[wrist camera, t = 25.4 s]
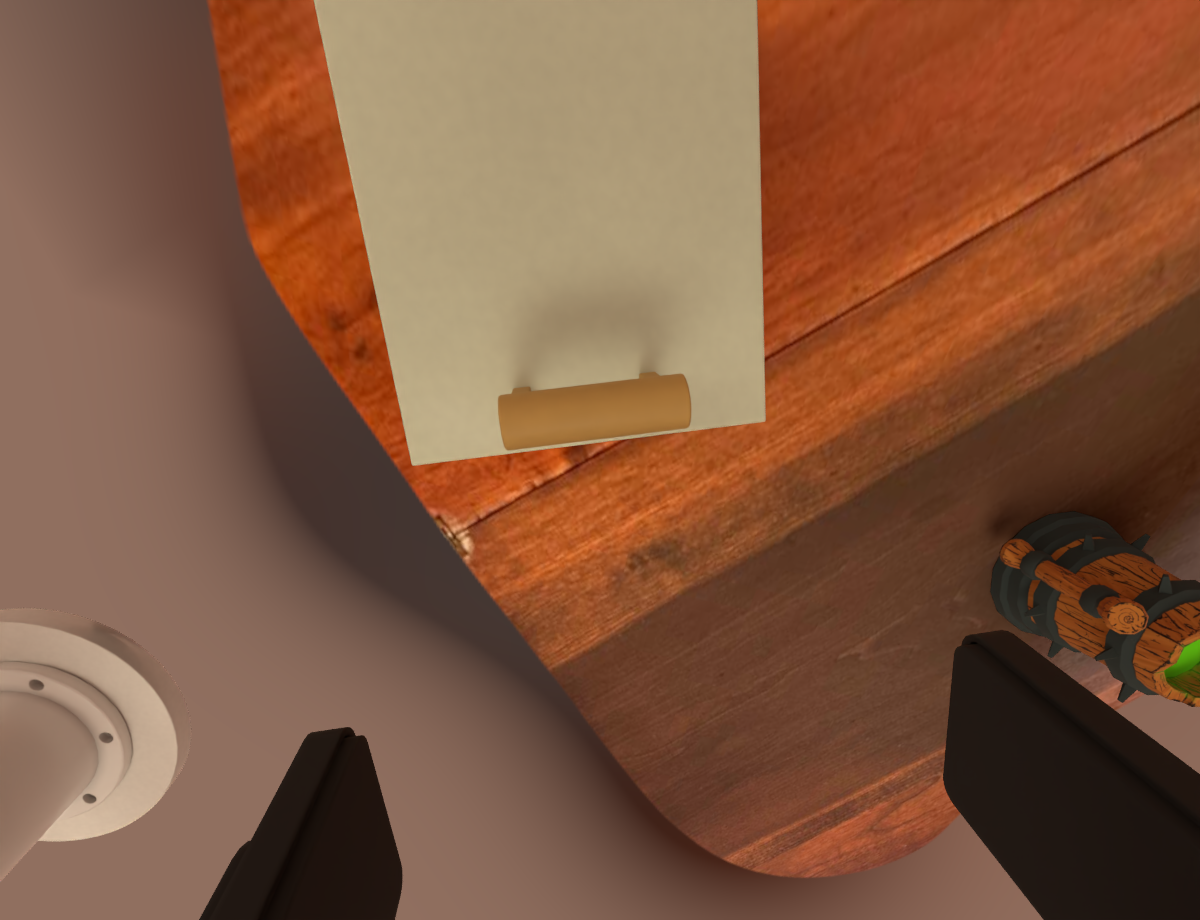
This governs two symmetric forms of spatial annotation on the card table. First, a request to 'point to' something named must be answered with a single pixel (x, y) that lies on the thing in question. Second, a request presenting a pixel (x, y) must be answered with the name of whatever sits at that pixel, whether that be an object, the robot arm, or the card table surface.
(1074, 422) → the card table surface
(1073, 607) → the mug
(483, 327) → the lid
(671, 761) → the card table surface
